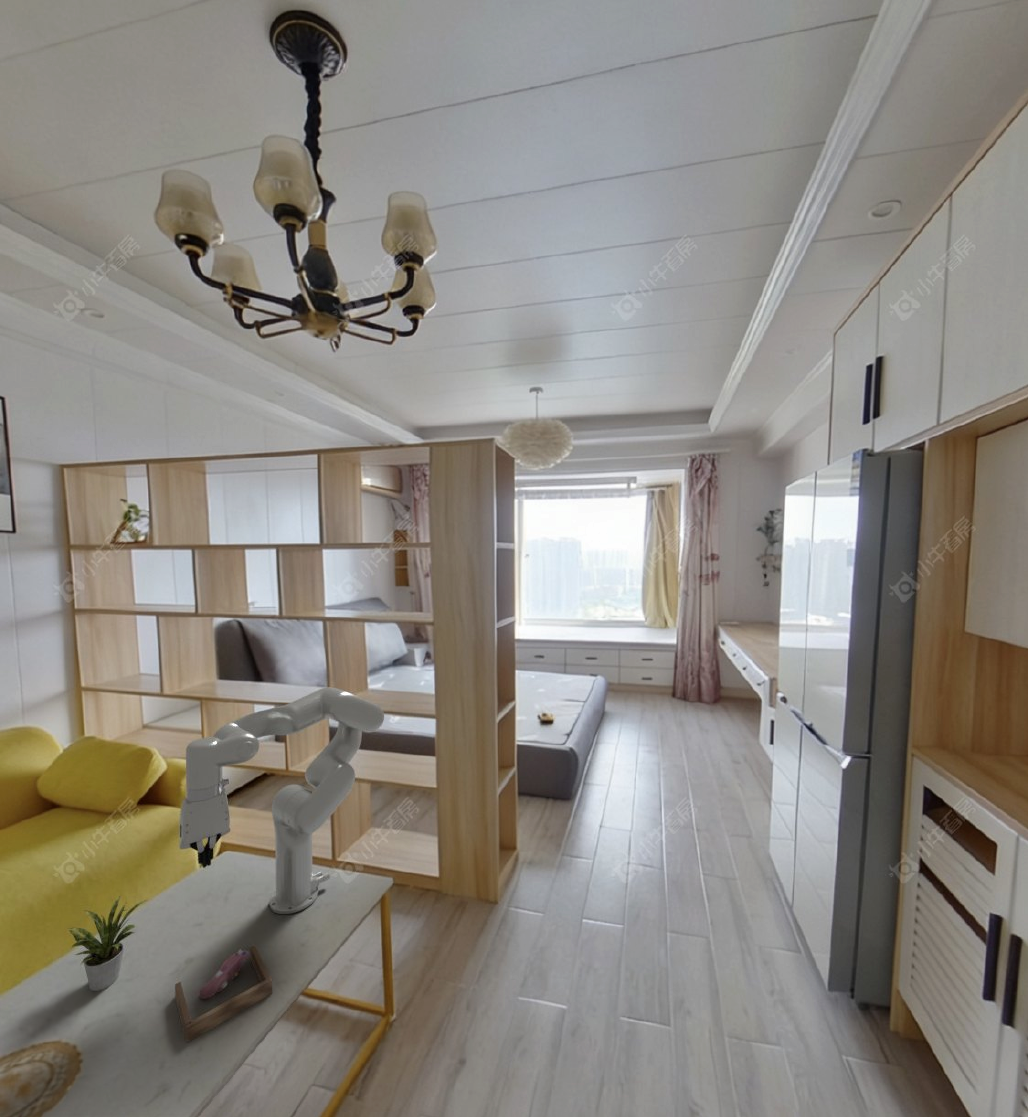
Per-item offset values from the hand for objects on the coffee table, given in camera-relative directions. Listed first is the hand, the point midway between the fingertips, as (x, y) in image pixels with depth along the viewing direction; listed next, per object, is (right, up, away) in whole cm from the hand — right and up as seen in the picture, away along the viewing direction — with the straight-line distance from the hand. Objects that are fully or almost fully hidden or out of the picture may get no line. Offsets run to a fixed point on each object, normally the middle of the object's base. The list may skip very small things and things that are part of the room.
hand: (205, 863), depth 120 cm
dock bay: (+11, -21, -12) cm, 27 cm away
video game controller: (+10, -22, -9) cm, 26 cm away
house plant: (-18, -22, -7) cm, 29 cm away
